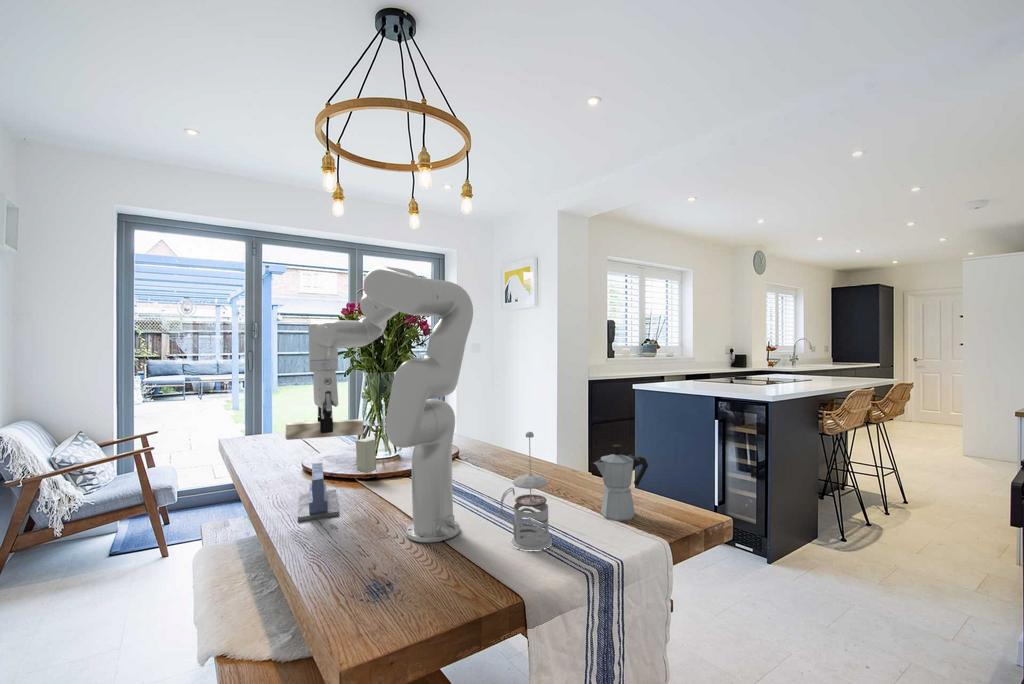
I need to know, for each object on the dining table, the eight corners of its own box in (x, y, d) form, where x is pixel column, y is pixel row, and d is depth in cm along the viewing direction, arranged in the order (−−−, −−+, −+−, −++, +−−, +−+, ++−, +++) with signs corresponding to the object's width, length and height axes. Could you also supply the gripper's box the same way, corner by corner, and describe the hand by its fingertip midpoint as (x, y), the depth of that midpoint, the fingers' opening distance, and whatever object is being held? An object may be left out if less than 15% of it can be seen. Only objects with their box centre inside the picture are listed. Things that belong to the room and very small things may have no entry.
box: (377, 477, 162) (376, 439, 161) (366, 481, 158) (365, 441, 158) (366, 475, 164) (365, 437, 164) (356, 478, 161) (355, 440, 161)
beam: (286, 439, 129) (287, 424, 129) (285, 438, 131) (285, 423, 131) (362, 434, 139) (363, 420, 139) (360, 432, 142) (360, 419, 142)
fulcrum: (339, 515, 127) (338, 478, 127) (297, 522, 123) (296, 483, 123) (335, 493, 146) (335, 460, 146) (299, 498, 142) (298, 464, 142)
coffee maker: (601, 523, 119) (599, 450, 118) (588, 511, 127) (587, 443, 127) (656, 517, 122) (655, 446, 121) (640, 505, 130) (639, 439, 130)
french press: (557, 550, 104) (554, 435, 104) (503, 553, 103) (501, 437, 103) (549, 532, 114) (547, 426, 114) (500, 535, 113) (498, 428, 113)
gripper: (344, 366, 130) (346, 434, 130) (331, 364, 144) (333, 425, 144) (314, 368, 126) (316, 438, 126) (304, 365, 140) (306, 428, 140)
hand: (325, 431), depth 135 cm, fingers closed on beam, 3 cm apart
